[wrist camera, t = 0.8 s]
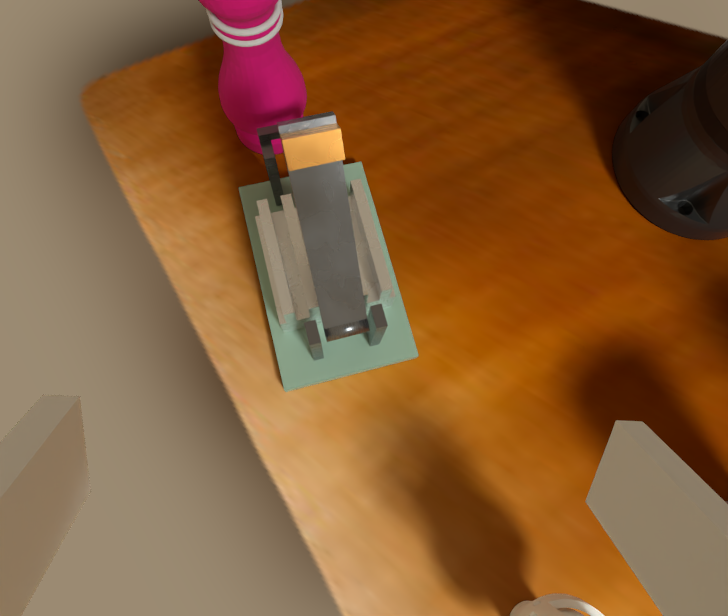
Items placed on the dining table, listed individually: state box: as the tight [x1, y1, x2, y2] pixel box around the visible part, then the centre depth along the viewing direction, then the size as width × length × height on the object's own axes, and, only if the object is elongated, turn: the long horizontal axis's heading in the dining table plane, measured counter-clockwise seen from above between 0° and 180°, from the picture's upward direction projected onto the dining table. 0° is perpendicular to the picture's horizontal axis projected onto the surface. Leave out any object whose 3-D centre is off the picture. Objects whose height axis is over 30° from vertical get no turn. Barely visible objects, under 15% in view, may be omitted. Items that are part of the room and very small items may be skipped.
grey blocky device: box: [255, 125, 396, 361], centre depth 37 cm, size 16×9×8 cm, turn 15°
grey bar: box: [277, 111, 370, 342], centre depth 30 cm, size 15×3×2 cm
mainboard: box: [238, 162, 419, 392], centre depth 42 cm, size 18×11×1 cm, turn 15°
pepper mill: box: [199, 0, 307, 154], centre depth 36 cm, size 7×7×20 cm
